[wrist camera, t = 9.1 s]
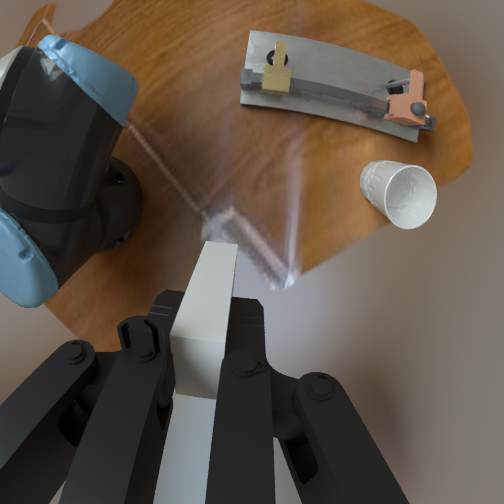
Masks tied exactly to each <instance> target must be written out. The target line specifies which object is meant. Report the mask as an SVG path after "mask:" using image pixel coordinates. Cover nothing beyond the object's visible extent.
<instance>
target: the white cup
mask: <svg viewBox="0 0 504 504" xmlns="http://www.w3.org/2000/svg"><path fill="white" fill-rule="evenodd" d="M360 189H361V191H362V194H363V196H364V197H365V198H366V199H367V200H368V201H369V202H370V203H371V204H372V205H373V206H374V207H375V208H376V209H377V210H378V211H380V212H381V213H382V214H383V215H384V216H385V217H386V218H388V219H389V220H390V221H391V222H392V223H393V224H394V225H396V226H397V227H399V228H402V229H407V230H409V229H414V228H417V227H419V226H421V225H423V224H424V223H425V222H426V221H427V220H428V219H429V218H430V216H431V215H432V213H433V211H434V208H435V205H436V199H437V190H436V185H435V182H434V180H433V178H432V176H431V175H430V174H429V172H428V171H426V170H425V169H424V168H422V167H419V166H416V165H411V164H406V163H401V162H394V161H384V160H377V161H372V162H370V163H369V164H368V165H367V166H365V167H364V169H363V171H362V173H361V175H360Z"/></svg>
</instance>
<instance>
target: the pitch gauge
mask: <svg viewBox="0 0 504 504" xmlns="http://www.w3.org/2000/svg"><path fill="white" fill-rule="evenodd" d="M410 73H411V71H409V70H407V69H404V68H402V67H400V66H397V65H395V64H392V63H390V62H387V61H384V60H381V59H379V58H376V57H373V56H370V55H367V54H364V53H361V52H358V51H354V50H351V49H348V48H344V47H340V46H337V45H333V44H329V43H325V42H320V41H316V40H311V39H306V38H301V37H296V36H290V35H284V34H277V33H270V32H261V31H252V30H250V36H249V42H248V49H247V56H246V62H245V68H242V74H241V81H240V85H241V88H242V91H241V98H240V104H242V105H251V106H260V107H268V108H275V109H281V110H288V111H294V112H300V113H305V114H310V115H315V116H320V117H325V118H329V119H334V120H338V121H342V122H346V123H350V124H354V125H358V126H362V127H366V128H369V129H373V130H376V131H379V132H383V133H386V134H389V135H392V136H395V137H398V138H401V139H404V140H407V141H410V142H414V143H417V140H418V133H419V130H420V131H431V132H434V129H435V121H436V118H434V117H431V116H425V125H402V124H399V123H396V122H393V121H390V120H387V119H384V116H385V114H389V109H390V101H387V96H389V95H394V94H397V95H398V94H404V93H408V94H409V87H410V84H407V85H402V86H398V87H394V88H390V89H389V88H387V86H386V84H387V83H391V82H394V81H398V80H401V79H405V78H409V77H410ZM423 87H424V77H423V82H422V95H421V99H423Z"/></svg>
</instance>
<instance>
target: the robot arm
mask: <svg viewBox="0 0 504 504" xmlns="http://www.w3.org/2000/svg"><path fill="white" fill-rule="evenodd" d="M38 47H39V48H31V47H26V46H19V47H18V48H16V49H15V50H13V51H12V52H11V53H9V54H7V55H6V56H5V57H3V58H0V291H1V292H2V293H3V294H4V295H5V296H6V297H7V298H8V299H10V300H11V301H12V302H14V303H16V304H18V305H19V306H22V307H25V308H31V307H38V306H40V305H42V304H43V303H44V302H45V301H47V300H48V299H49V298H50V297H52V296H54V295H55V294H56V293H57V292H58V289H59V288H60V287H61V286H62V285H63V284H64V283H65V282H66V281H67V280H68V279H69V278H70V277H71V276H72V275H73V274H74V273H75V272H76V271H77V270H78V269H79V268H80V267H81V266H82V265H83V264H84V263H85V262H86V261H87V260H89V259H90V258H91V257H92V256H93V255H94V254H95V253H99V252H103V251H108V250H112V249H114V248H117V247H118V246H120V245H122V244H123V243H124V242H125V241H126V240H127V239H129V238H130V237H131V236H132V234H133V233H134V232H135V230H136V229H137V227H138V225H139V223H140V220H141V216H142V209H143V200H142V193H141V189H140V186H139V183H138V181H137V179H136V177H135V175H134V174H133V172H132V171H131V170H130V169H129V167H128V166H127V165H125V164H124V163H123V162H122V161H120V160H119V159H117V158H115V157H112V156H111V155H112V152H113V150H114V148H115V145H116V143H117V141H118V138H119V136H120V134H121V132H122V129H123V127H126V124H127V122H126V120H127V117H128V115H129V112H130V110H131V107H132V105H133V103H134V101H135V99H136V96H137V94H138V83H137V80H136V79H135V77H134V76H133V75H132V74H131V73H130V72H128V71H127V70H125V69H124V68H122V67H121V66H119V65H117V64H116V63H114V62H112V61H110V60H109V59H107V58H105V57H103V56H101V55H99V54H97V53H95V52H93V51H91V50H89V49H87V48H85V47H83V46H80V45H78V44H76V43H73V42H69V41H67V40H64V39H62V38H60V37H58V36H54V35H48V36H46V37H44V39H43V40H42V41H40V42H39V44H38ZM237 248H238V244H229V243H220V242H211V241H206V242H205V245H204V247H203V250H202V252H201V254H200V257H199V259H198V262H197V264H196V267H195V269H194V272H193V274H192V277H191V279H190V282H189V284H188V287H187V290H186V292H181V291H174V290H167V289H166V290H165V291H164V292H162V293H161V294H160V295H158V296H157V298H156V300H155V302H154V304H153V306H152V308H151V310H150V313H149V314H148V316H134V317H129V318H127V319H125V320H123V321H122V322H121V323H120V324H119V325H118V326H117V330H118V334H119V339H120V343H121V347H122V349H121V350H120V351H115V352H95V350H94V348H93V346H92V345H91V344H90V343H88V342H86V341H83V340H72V341H69V342H66V343H64V344H63V345H61V346H60V347H59V348H58V349H57V350H56V351H55V352H54V353H52V354H51V355H50V356H49V357H48V358H47V359H46V360H45V361H44V362H43V363H42V364H41V365H40V366H39V367H38V368H37V369H36V370H35V371H34V372H33V373H32V374H31V375H30V376H29V377H28V378H27V379H26V380H25V381H24V382H23V383H22V384H21V385H20V386H19V387H18V388H17V389H16V390H15V391H14V392H13V393H12V394H11V395H10V396H9V397H8V398H7V399H6V400H5V401H4V402H3V404H2V405H1V406H0V504H49V503H50V501H51V500H52V498H53V497H54V496H55V494H56V493H57V491H58V490H59V488H60V487H61V486H62V484H63V483H64V481H65V480H66V482H65V484H64V488H63V491H62V494H61V497H60V501H59V504H153V500H154V495H155V489H156V484H157V479H158V474H159V469H160V464H161V459H162V455H163V449H164V445H165V440H166V436H167V432H168V427H169V423H170V418H171V414H172V409H173V398H172V396H173V392H174V388H175V390H176V393H177V394H182V395H188V396H194V397H202V398H209V399H217V401H216V409H215V417H214V426H213V434H212V435H213V436H212V444H211V452H210V461H209V470H208V480H207V490H206V500H205V504H276V503H275V475H274V449H273V437H275V438H278V440H279V442H280V446H281V448H282V451H283V454H284V457H285V459H286V462H287V465H288V467H289V470H290V473H291V475H292V478H293V481H294V483H295V486H296V489H297V491H298V494H299V496H300V499H301V502H302V504H409V502H408V500H407V498H406V497H405V495H404V493H403V491H402V489H401V488H400V486H399V484H398V482H397V480H396V479H395V477H394V475H393V473H392V472H391V470H390V468H389V466H388V465H387V463H386V461H385V459H384V458H383V456H382V454H381V452H380V451H379V449H378V447H377V445H376V444H375V442H374V440H373V439H372V437H371V435H370V433H369V432H368V430H367V428H366V426H365V425H364V423H363V421H362V420H361V418H360V416H359V414H358V413H357V411H356V409H355V407H354V406H353V404H352V402H351V401H350V399H349V397H348V395H347V394H346V392H345V391H344V389H343V387H342V385H341V384H340V383H339V382H338V381H337V379H335V378H334V377H332V376H330V375H329V374H325V373H321V372H311V373H308V374H305V375H303V376H302V377H301V378H300V379H296V378H292V377H289V376H286V375H283V374H281V373H279V372H277V371H276V370H274V369H273V368H272V367H271V366H270V365H269V363H268V361H267V359H266V353H265V330H264V310H263V307H262V305H261V304H260V302H259V301H258V300H257V299H249V298H239V297H232V296H233V286H234V276H235V267H236V257H237ZM66 478H67V479H66Z"/></svg>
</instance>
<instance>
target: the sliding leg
mask: <svg viewBox="0 0 504 504" xmlns="http://www.w3.org/2000/svg"><path fill="white" fill-rule="evenodd" d="M422 82H423V73H422V72H420V71H417V70H415V69H414V70H411V73H410V77H409V78H405V79H401V80H398V81H394V82H391V83H387V84H386V86H387V88H389V89H390V88H394V87H398V86H402V85H407V84H410V87H409V94H408V93H404V94H398V95H397V94H394V95H389V96H387V101H390V109H389V114H385V116H384V119H387V120H390V121H393V122H396V123H399V124H402V125H425V116H426V107H427V102H426V101H424V100H422V99H421V95H422Z"/></svg>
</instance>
